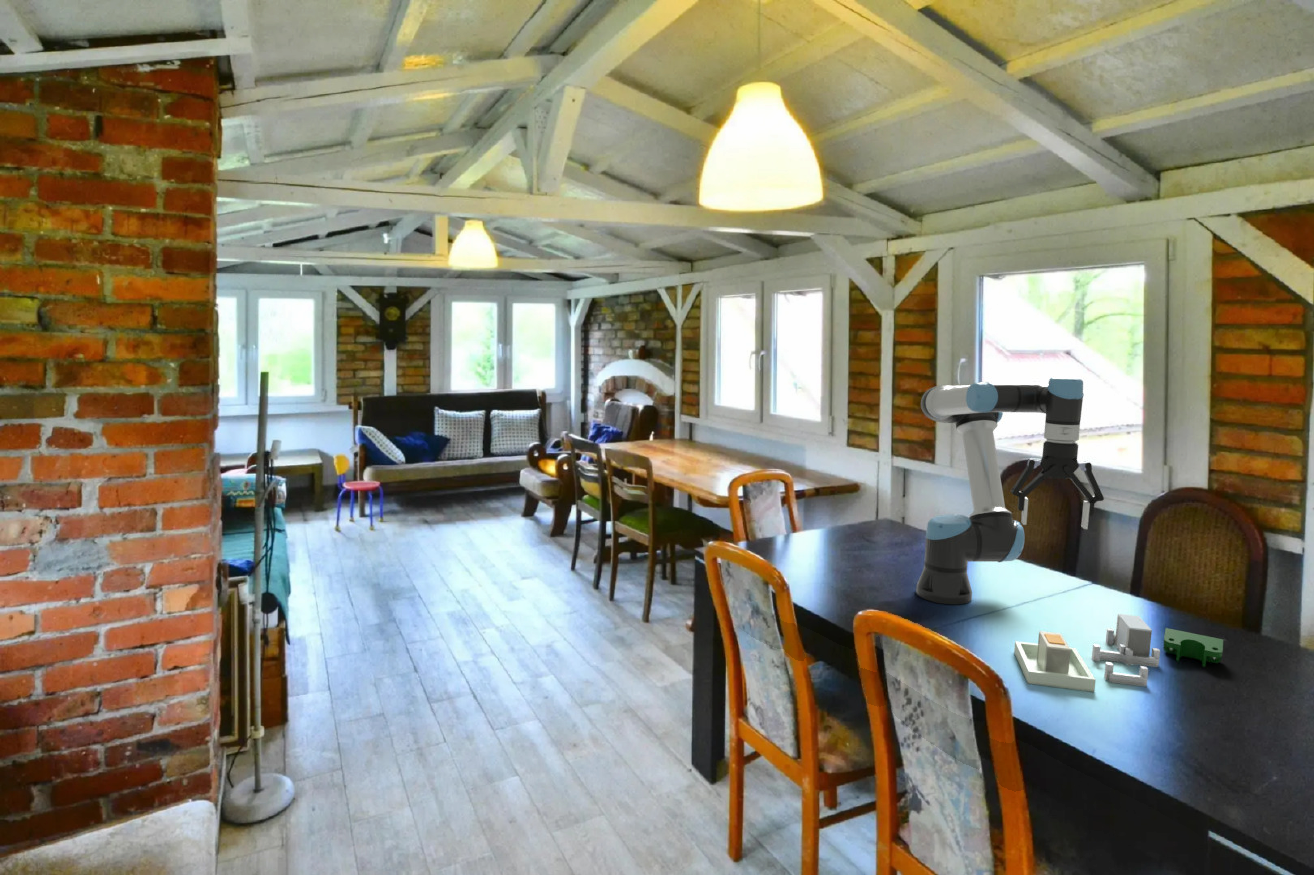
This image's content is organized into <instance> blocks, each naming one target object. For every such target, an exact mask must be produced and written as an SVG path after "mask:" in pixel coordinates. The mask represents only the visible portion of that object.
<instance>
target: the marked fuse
mask: <svg viewBox="0 0 1314 875" xmlns="http://www.w3.org/2000/svg"><path fill="white" fill-rule="evenodd" d="M1037 642H1038V643H1037V644H1038V650H1037V661H1038V663H1039V665H1040V667H1041V669H1042V671H1044V672H1052V673H1060V674H1068V673H1069V662H1070V648H1071V647H1070V646H1069V644H1068V642H1067V641H1066V640H1065V638H1064V636H1063V635H1062V633H1061V632H1052V631H1050V632H1049V631H1044V630H1043V631H1041V630H1040V631H1039V632H1038V641H1037Z"/></svg>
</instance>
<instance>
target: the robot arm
mask: <svg viewBox="0 0 1314 875" xmlns="http://www.w3.org/2000/svg"><path fill="white" fill-rule="evenodd" d="M1083 400H1084V381H1083V380H1082V378H1079V377H1067V376H1066V377H1065V376H1063V377H1062V376H1060V377H1059V376H1055V377H1054V376H1053V377H1051V378H1050V379H1049V380H1048V383H1045V382H1041V381H1038V382H1037V381H1033V382H989V381H981V382H974V383H971V384H969V385H967V384H966V385H962V384H960V385H957V384H956V385H954V384H951V385H950V384H945V385H944V384H942V385H937V386H933V387H930V388H929V389H928V390H926V391H925V392H924V393H923V395H922V397H921V400H920V408H921V410H922V413H923V414H924V416H926V417H927V418H928V419H930V420H931V421H934V422H937V423H943V424H955V428H956V432H957V433H958V434H960V435H962V440H963V445H964V446H963V447H964V453H965V461H966V467H967V475H968V483H969V488H970V489H969V490H970V495H971V502H972V508H973V511H972V513H971V514H970V515H969V517H968V516H966V515H962V514H941V515H938V516H934V517H932V518H931V519H929V520H928V522H927V525H926V531H925V533H924V534H925V545H924V546H925V548H924V565H923V569H922V572H921V573H920V574H921V575H920V576H919V579H918V581H917V583H916V589H915V590H916V591H915V593H916V595H917V596H919V597H920V598H922V599H924V600H926V601H929V602H933V603H938V604H943V605H944V604H945V605H965V604H968V603H970V602H971V601H972V598H973V591H972V590H973V589H972V586H971V583H970V580H969V575H968V562H973V563H974V562H977V563H978V562H979V563H980V562H991V563H992V562H997V563H1003V562H1013V561H1014V560H1016V559H1018V558H1019V557H1020V556H1021V554H1022V552H1023V549H1024V545H1025V530H1024V526H1025V525H1026V526H1027V523H1028V522H1027V521H1028V520H1027V519H1028V509H1029V498H1028V497H1027V496H1029V494H1031V492H1033V491H1034V490H1035V489H1036V488H1037V487H1038V486H1040V485H1041V483H1043V482H1044V481H1045V480H1047V479H1048V478H1050V479H1053V480H1057V479H1060V480H1067V479H1070V480H1071V481H1072V483H1073V484H1074V485H1075V487H1076V488H1077V489H1078V491H1080V493H1081V494H1082V495H1083V496H1084V498H1085V499H1086V500H1083V502H1082V503H1083V505H1082V515H1081V524H1080V526H1081V528H1082V529H1084V530H1088V526H1089V517H1090V516H1092V517H1093V516H1094V514H1095V512H1094V511H1095V504H1096V503H1097V502H1103V501H1104V499H1105V497H1104V495H1103V492H1102V491H1101V488H1100V487H1099V484H1098V482H1097V479H1096V478H1095V476H1094V473H1093V471H1092V470H1093V468H1092V466H1093V464H1092V463H1091V462H1090V461H1088V460H1085V461H1081V462H1078V454H1079V443H1078V441H1079V440H1080V430H1081V429H1080V428H1081V427H1080V426H1081V419H1082V418H1081V417H1082V408H1083ZM1004 413H1040V414H1045V423H1044V433H1043V434H1044V435H1043V438H1044V439H1045V441H1043V445H1042V446H1043V447H1042V456H1041V459H1040V460H1037V459H1033V458H1031V457H1030V458H1028V459H1027V462H1026V467H1025V468H1024V469H1023V471H1022V473H1021V474H1020V476H1019V477H1018V479H1017V480H1016V482H1015V484H1014V485H1013V487H1011V489H1010V492H1011V494H1012V495H1013V496H1015V497H1018V499H1017V509H1018V511H1021V519H1020V520H1021V521H1018V520H1014V518H1013V513H1012V512H1011V511H1010V510H1008V509H1007V508H1006V504H1005V498H1004V491H1003V485H1002V480H1001V473H1000V467H999V461H998V454H997V448H996V440H995V436H994V431H995V430H996V429H997V427H998V423H999V422H1000V421H1001V419H1002V418H1003V414H1004ZM1038 466H1040V467H1041V469H1042V470H1041V471H1040V472H1039V473H1038V475H1036V476H1035V477H1034V478H1033V479H1032V480H1031V481H1030V482H1028V484H1026V485H1025V483H1026V482H1027V481H1028V479H1029V477H1030V475H1031V474H1032V473H1033V471H1034V469H1036V468H1037V467H1038ZM1079 468H1080V470H1081V471H1082V472H1084V475H1085V477H1086V479H1087V481H1088V483H1089V485H1090V488H1091V490H1092V492H1093V494H1094V495H1092V494H1091V492H1090V491H1089V490H1088V489H1087V488H1086V486H1084V484H1083V483H1082V482H1081V480H1080V479H1079V477H1077V475H1076V474H1075V472H1076V471H1077V470H1078V469H1079ZM1024 485H1025V486H1024ZM1023 486H1024V487H1023ZM1022 525H1023V526H1022Z"/></svg>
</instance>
